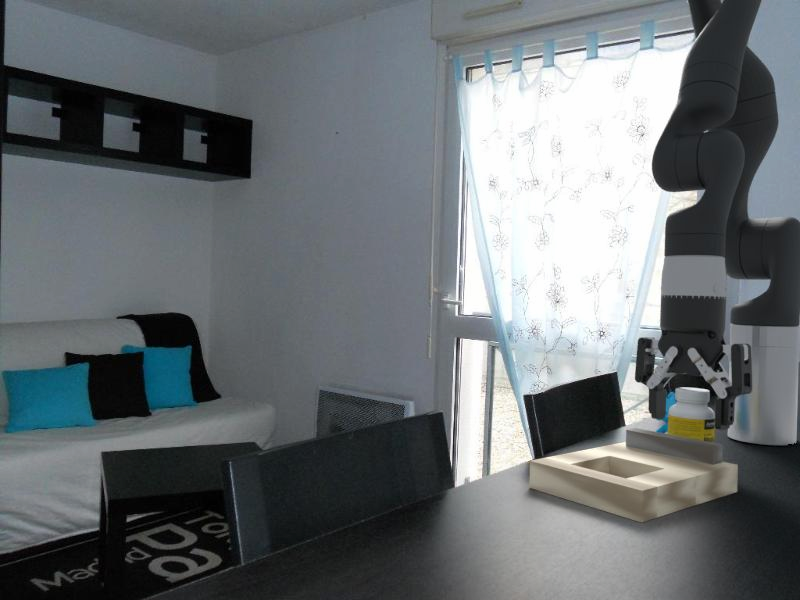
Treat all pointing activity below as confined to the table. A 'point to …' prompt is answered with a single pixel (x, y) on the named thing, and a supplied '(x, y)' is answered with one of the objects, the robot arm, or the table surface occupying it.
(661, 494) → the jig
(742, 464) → the table surface
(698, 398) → the supplement bottle
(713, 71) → the robot arm
